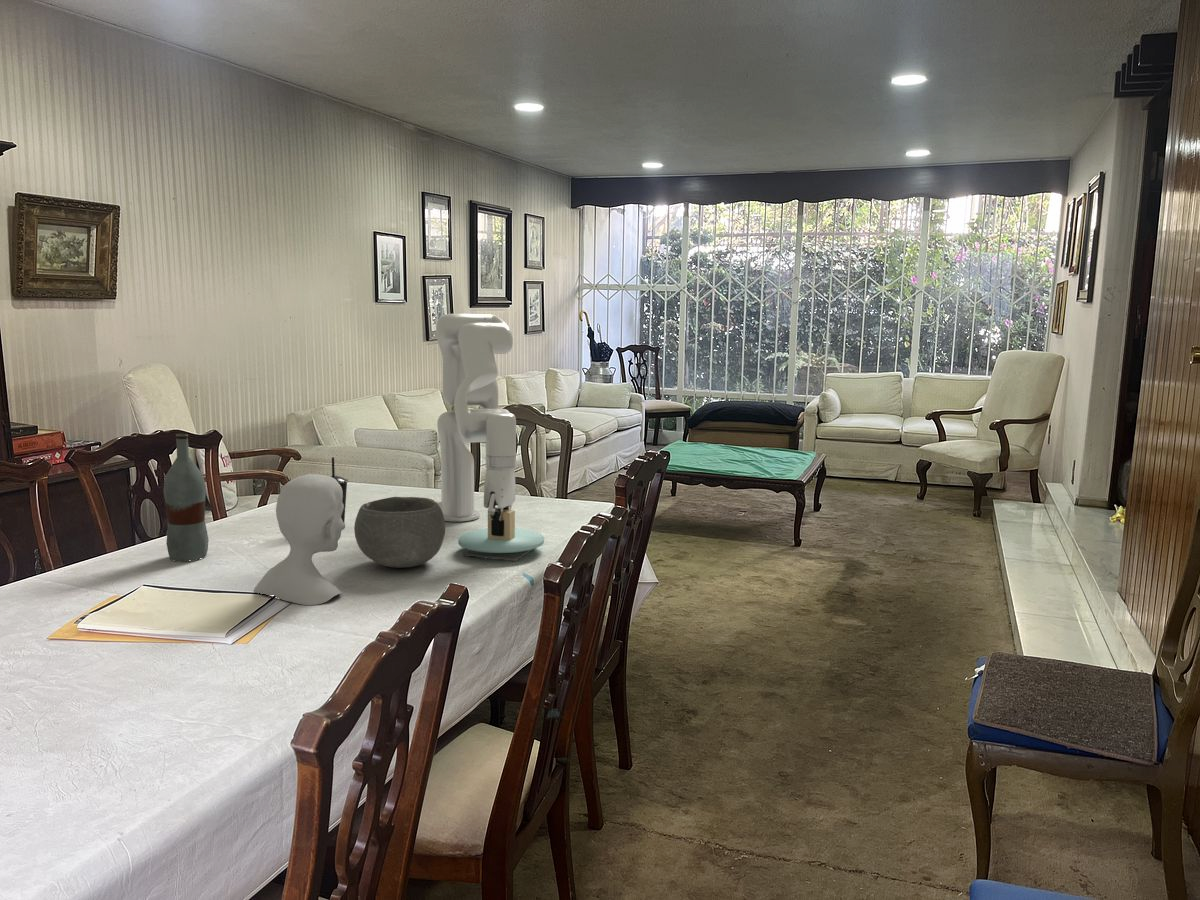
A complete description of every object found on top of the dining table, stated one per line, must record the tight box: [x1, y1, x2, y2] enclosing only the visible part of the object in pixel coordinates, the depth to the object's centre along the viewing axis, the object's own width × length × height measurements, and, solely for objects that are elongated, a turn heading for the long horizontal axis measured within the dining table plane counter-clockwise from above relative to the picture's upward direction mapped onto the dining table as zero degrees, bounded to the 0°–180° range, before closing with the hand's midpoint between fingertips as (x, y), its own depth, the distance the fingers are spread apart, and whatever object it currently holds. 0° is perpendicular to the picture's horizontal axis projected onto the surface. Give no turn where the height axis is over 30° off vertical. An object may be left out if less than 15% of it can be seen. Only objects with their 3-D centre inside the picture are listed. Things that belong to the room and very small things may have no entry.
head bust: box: [253, 473, 346, 606], centre depth 191 cm, size 22×19×25 cm
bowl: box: [354, 496, 446, 569], centre depth 210 cm, size 21×21×15 cm
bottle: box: [162, 433, 209, 562], centre depth 212 cm, size 9×9×30 cm
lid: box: [457, 509, 545, 553], centre depth 223 cm, size 22×22×8 cm
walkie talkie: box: [329, 456, 349, 524], centre depth 243 cm, size 8×8×20 cm
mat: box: [463, 548, 536, 562], centre depth 224 cm, size 14×14×1 cm
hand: (500, 533), depth 224 cm, fingers closed on lid, 3 cm apart
